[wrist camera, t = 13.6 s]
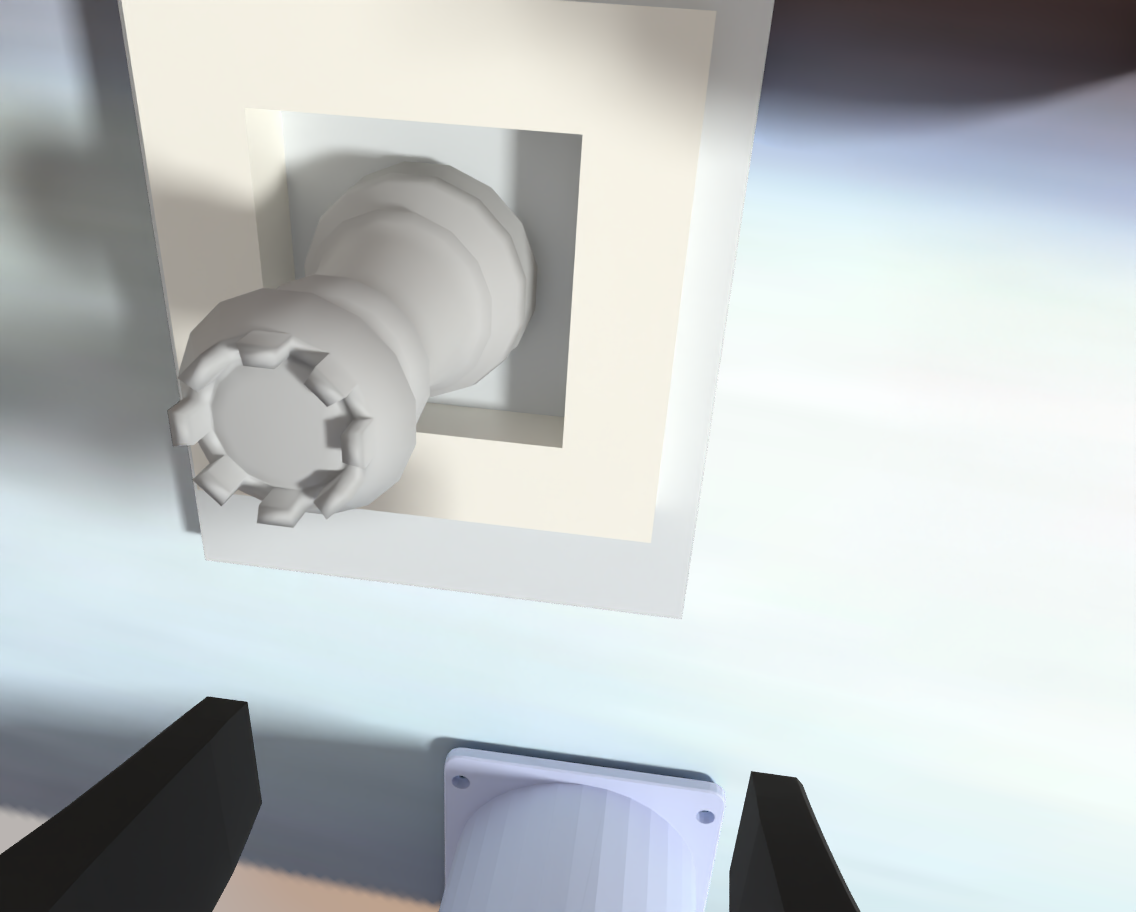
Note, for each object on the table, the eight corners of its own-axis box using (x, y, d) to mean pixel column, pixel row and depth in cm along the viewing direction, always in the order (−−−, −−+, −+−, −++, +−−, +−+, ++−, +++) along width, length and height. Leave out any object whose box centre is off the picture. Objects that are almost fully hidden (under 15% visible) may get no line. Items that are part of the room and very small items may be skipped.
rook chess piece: (407, 405, 19) (245, 633, 12) (285, 226, 18) (17, 366, 11) (582, 315, 18) (512, 512, 11) (465, 111, 16) (294, 185, 9)
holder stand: (681, 594, 22) (681, 660, 20) (223, 539, 23) (174, 595, 21) (797, -187, 14) (816, -223, 12) (115, -219, 15) (19, -259, 13)
